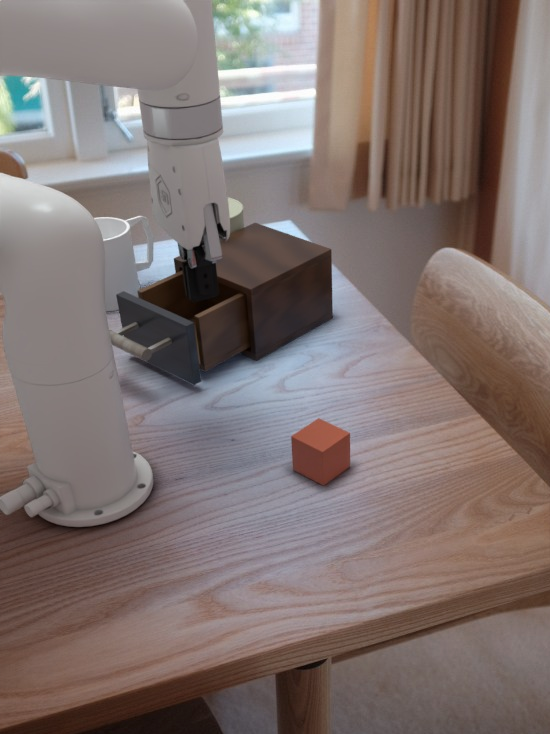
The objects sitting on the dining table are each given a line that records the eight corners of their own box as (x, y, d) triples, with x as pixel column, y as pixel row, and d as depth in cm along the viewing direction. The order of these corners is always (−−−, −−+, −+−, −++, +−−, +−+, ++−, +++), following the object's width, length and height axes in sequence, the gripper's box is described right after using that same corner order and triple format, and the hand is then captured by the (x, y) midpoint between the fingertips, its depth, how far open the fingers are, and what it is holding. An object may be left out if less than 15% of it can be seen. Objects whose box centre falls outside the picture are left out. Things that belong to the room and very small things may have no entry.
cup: (174, 290, 130) (165, 221, 123) (101, 317, 124) (87, 246, 117) (143, 271, 135) (133, 205, 128) (71, 296, 128) (56, 228, 122)
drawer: (164, 402, 106) (154, 342, 100) (96, 366, 112) (83, 308, 107) (272, 341, 116) (268, 284, 111) (205, 312, 123) (198, 257, 117)
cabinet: (256, 361, 114) (250, 289, 108) (182, 327, 121) (173, 258, 115) (332, 317, 123) (331, 248, 117) (260, 288, 130) (255, 222, 124)
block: (323, 486, 95) (322, 452, 92) (292, 469, 97) (290, 436, 94) (350, 466, 97) (350, 432, 94) (319, 451, 99) (318, 417, 97)
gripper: (117, 103, 89) (144, 278, 101) (174, 146, 79) (197, 334, 91) (188, 92, 92) (206, 263, 104) (252, 132, 82) (264, 316, 94)
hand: (202, 296), depth 97 cm, fingers closed
